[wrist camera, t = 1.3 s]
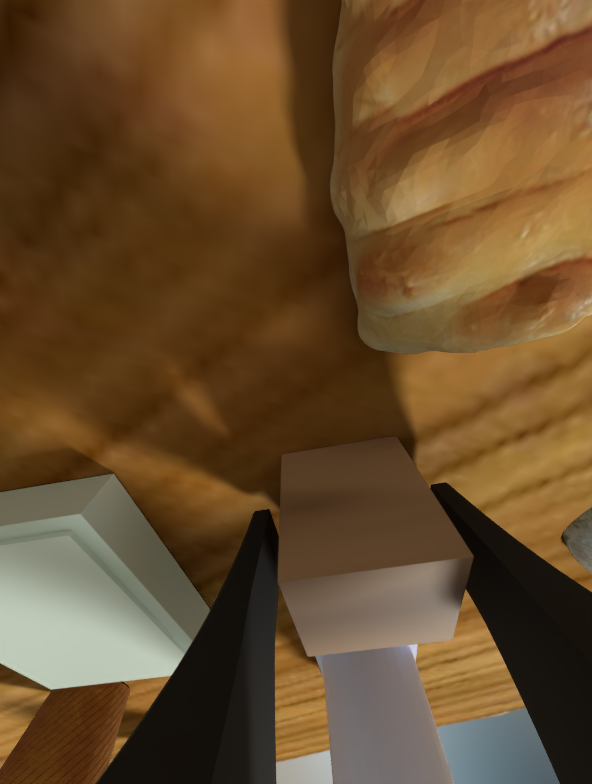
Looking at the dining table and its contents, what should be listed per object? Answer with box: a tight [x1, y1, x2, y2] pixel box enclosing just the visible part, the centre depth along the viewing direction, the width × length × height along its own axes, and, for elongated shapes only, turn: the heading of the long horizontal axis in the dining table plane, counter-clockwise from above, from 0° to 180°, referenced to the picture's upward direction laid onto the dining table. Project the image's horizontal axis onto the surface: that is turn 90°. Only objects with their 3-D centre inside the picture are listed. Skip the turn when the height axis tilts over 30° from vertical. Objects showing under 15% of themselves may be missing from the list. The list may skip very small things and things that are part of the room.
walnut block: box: [278, 436, 474, 657], centre depth 10 cm, size 5×5×5 cm
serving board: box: [0, 474, 210, 690], centre depth 14 cm, size 16×12×2 cm
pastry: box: [330, 0, 592, 354], centre depth 5 cm, size 9×7×4 cm
